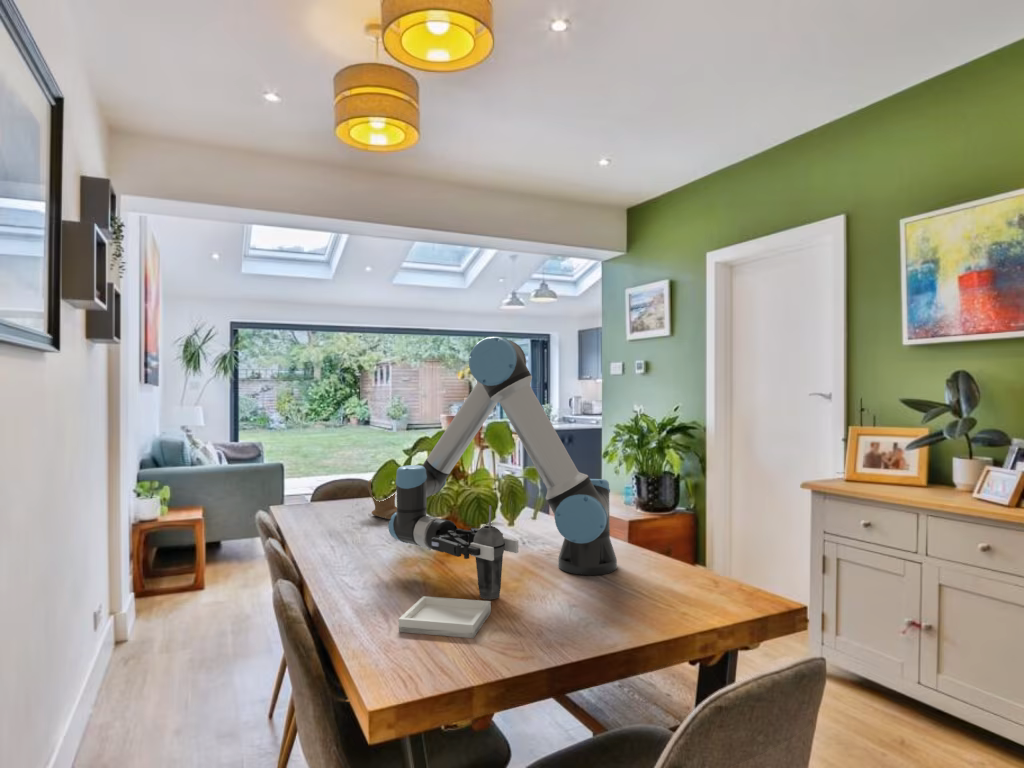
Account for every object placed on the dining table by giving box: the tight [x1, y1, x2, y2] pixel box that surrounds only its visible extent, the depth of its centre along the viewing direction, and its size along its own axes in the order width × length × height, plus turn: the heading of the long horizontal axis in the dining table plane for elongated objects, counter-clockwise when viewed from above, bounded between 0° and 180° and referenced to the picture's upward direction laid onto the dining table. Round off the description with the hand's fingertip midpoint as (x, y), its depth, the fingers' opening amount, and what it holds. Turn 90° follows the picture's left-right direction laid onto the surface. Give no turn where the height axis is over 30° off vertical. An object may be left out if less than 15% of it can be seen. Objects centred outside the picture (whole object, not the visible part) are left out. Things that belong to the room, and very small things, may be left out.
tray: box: [398, 595, 492, 639], centre depth 124 cm, size 15×13×2 cm
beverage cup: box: [473, 504, 505, 600], centre depth 137 cm, size 7×7×20 cm
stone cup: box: [367, 478, 397, 520], centre depth 222 cm, size 15×12×15 cm
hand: (505, 550), depth 134 cm, fingers closed on beverage cup, 7 cm apart
